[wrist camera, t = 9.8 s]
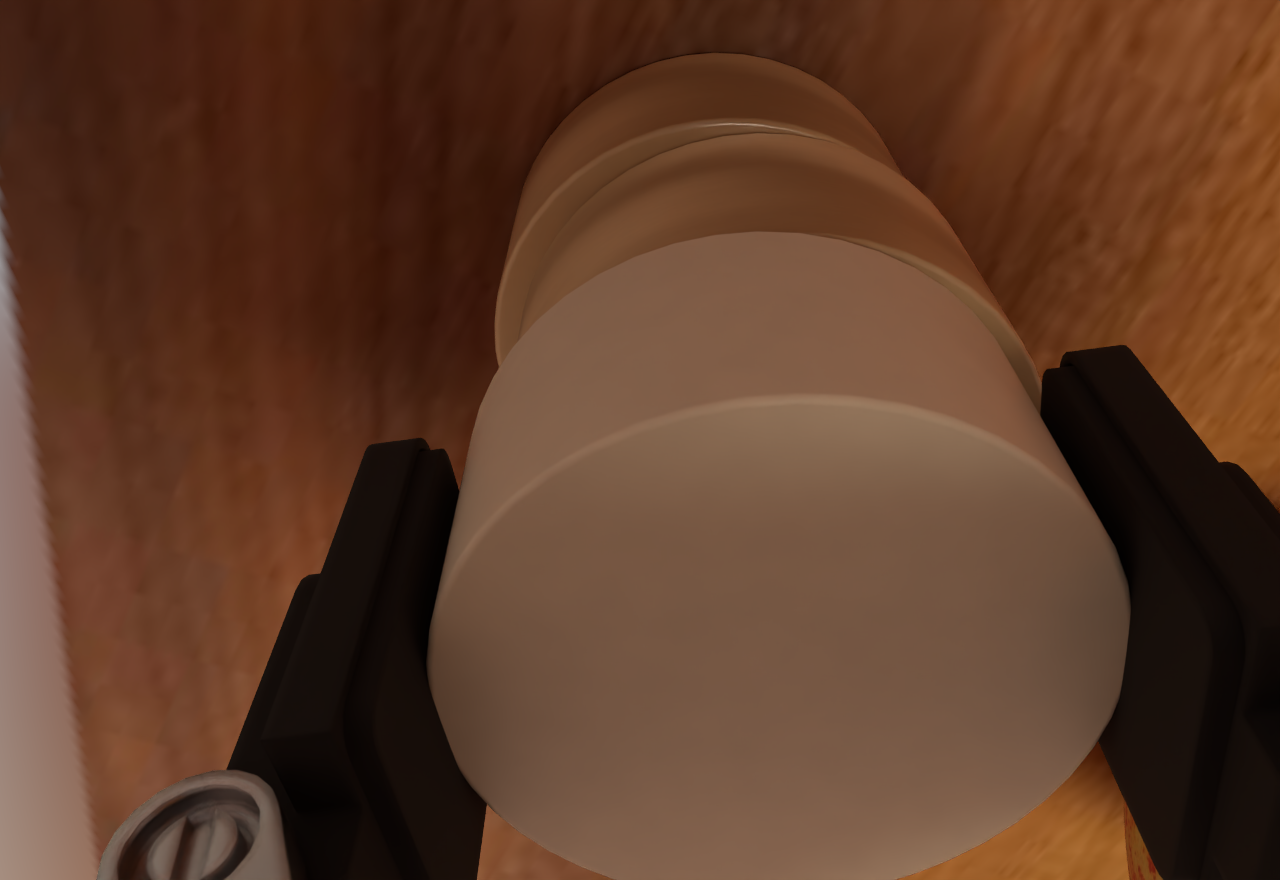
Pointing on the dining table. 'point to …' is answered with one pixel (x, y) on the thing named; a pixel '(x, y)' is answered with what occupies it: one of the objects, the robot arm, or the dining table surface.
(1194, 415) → the dining table surface
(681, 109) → the chip pile
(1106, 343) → the dining table surface
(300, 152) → the dining table surface
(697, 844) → the wooden chip
